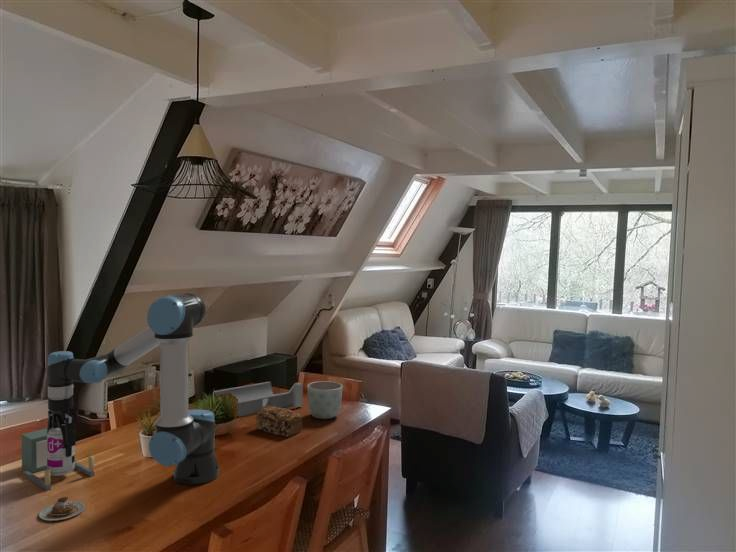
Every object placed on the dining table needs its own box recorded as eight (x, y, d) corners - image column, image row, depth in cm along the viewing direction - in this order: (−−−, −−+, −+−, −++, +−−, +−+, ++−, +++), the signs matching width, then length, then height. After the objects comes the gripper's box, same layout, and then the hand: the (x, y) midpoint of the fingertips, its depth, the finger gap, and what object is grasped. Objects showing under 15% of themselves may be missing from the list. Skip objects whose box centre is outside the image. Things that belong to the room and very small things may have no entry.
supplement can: (62, 477, 181) (62, 433, 181) (41, 474, 183) (41, 431, 182) (80, 468, 189) (79, 426, 189) (59, 465, 191) (59, 423, 190)
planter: (348, 415, 263) (349, 384, 262) (327, 424, 249) (328, 392, 248) (321, 409, 272) (321, 379, 271) (299, 417, 258) (300, 386, 257)
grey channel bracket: (268, 394, 298) (268, 372, 297) (302, 408, 274) (303, 384, 273) (212, 405, 275) (213, 381, 275) (244, 421, 252) (245, 394, 251)
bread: (255, 429, 239) (255, 407, 239) (271, 423, 248) (271, 402, 248) (287, 438, 230) (288, 415, 229) (303, 431, 239) (303, 409, 238)
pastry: (73, 523, 157) (73, 508, 156) (30, 524, 156) (30, 508, 155) (91, 504, 168) (91, 489, 168) (51, 504, 167) (51, 490, 167)
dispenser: (94, 475, 188) (94, 441, 188) (46, 491, 175) (46, 454, 175) (59, 456, 203) (59, 425, 203) (12, 469, 191) (12, 436, 190)
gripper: (87, 400, 182) (87, 466, 183) (58, 389, 194) (58, 451, 195) (63, 405, 176) (64, 473, 177) (35, 393, 188) (35, 457, 189)
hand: (61, 462), depth 186 cm, fingers closed on supplement can, 8 cm apart
